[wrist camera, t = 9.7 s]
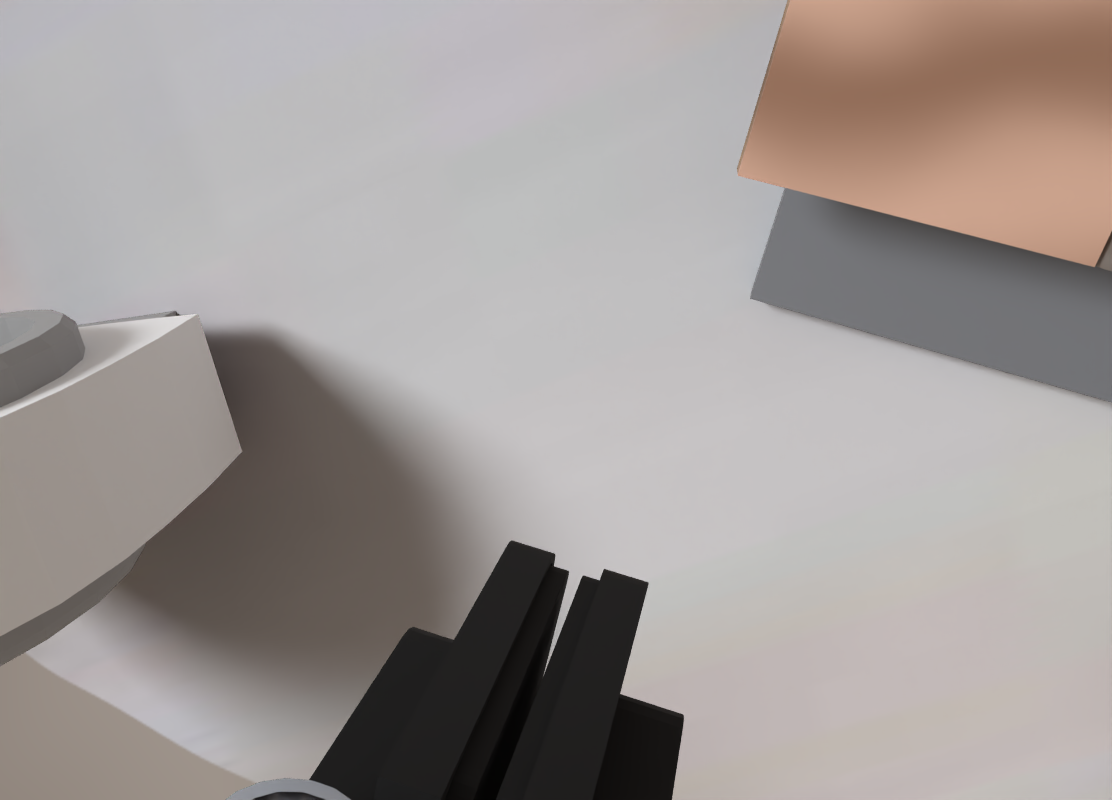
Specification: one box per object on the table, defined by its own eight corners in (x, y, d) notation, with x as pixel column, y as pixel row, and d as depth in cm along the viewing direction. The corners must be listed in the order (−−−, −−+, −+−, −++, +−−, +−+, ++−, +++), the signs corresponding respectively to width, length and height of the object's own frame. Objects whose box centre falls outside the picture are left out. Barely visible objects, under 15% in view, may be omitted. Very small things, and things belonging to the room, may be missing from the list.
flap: (1272, 7, 23) (1247, 7, 25) (821, -101, 24) (816, -97, 25) (1138, 278, 26) (1121, 267, 27) (737, 175, 27) (737, 168, 28)
